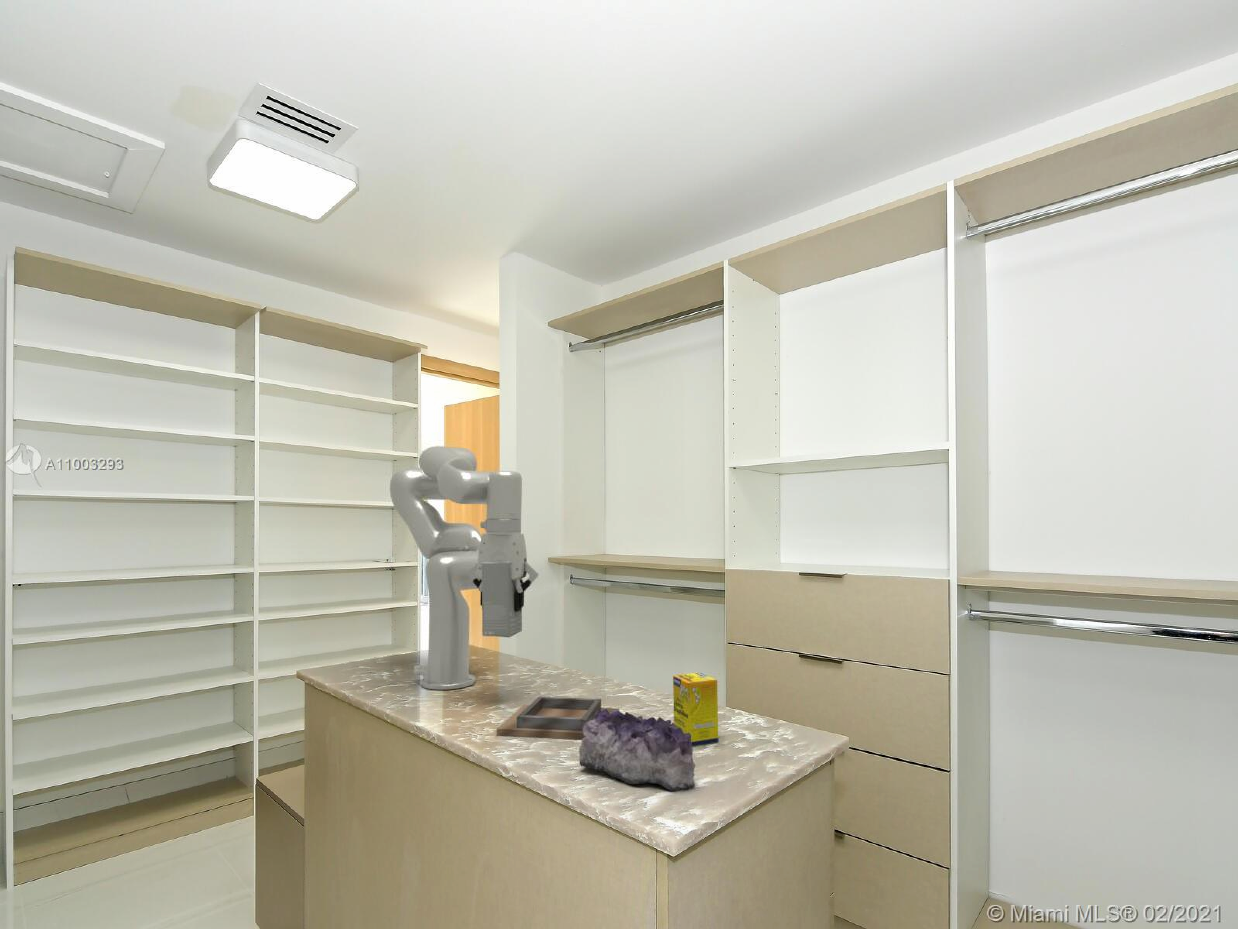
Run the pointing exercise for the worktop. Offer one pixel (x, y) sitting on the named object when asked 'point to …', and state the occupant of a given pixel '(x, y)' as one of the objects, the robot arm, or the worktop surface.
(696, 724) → the supplement box
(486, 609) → the skincare box
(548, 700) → the board
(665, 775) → the geode
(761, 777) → the worktop surface
